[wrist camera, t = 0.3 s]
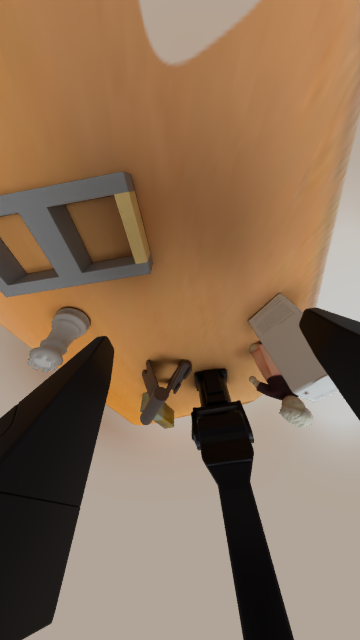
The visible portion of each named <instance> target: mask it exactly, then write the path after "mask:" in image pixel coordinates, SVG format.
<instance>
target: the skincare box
mask: <svg viewBox="0 0 360 640" xmlns="http://www.w3.org/2000/svg"><path fill="white" fill-rule="evenodd" d="M302 315H303V311H301V310H300V309H299V308H298V307H297V306H295V305H294V304H293V303H292V302H290V301H289V300H288V299H287V298H286V297H285V296H283V295H282V294H281V293H280V294H278V295H277V296H276V297H275V298H274V299H273V300H271V301H270V302H269V303H268V304H267V305H266V306H265V307H263V308H262V309H261V310H260V311H259V312H258V313H257V314H256V315H254V316H253V317H252V318H251V319H250V320H249V321H248V322H249V324H250V325H251V327H252V328H253V330H254V332H255V333H256V335H257V336H258V338H259V340H260V341H261V343H262V344H263V346H264V348H265V349H266V351H267V352H268V354H269V356H270V357H271V359H272V360H273V362H274V364H275V365H276V367H277V368H278V370H279V372H280V373H281V375H282V376H283V378H284V379H285V381H286V382H287V384H288V386H289V388H290V389H291V391H292V392H293V393H294V394H296V395H298V396H300V397H303V398H305V399H308V400H310V401H313V402H316V401H318V400H321V399H323V398H325V397H327V396H329V395H332V394H334V393H336V392H338V391H339V390H338V389H337V387H336V386H335V384H334V383H333V382H332V380H331V379H330V377H329V376H328V374H327V373H326V372H325V370H324V369H323V367H322V366H321V364H320V363H319V361H318V360H317V358H316V357H315V355H314V354H313V352H312V350H311V348H310V346H309V345H308V343H307V341H306V339H305V337H304V335H303V334H302V332H301V330H300V328H299V322H300V319H301V317H302Z"/></svg>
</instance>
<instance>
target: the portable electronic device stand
mask: <svg viewBox="0 0 360 640" xmlns="http://www.w3.org/2000/svg"><path fill="white" fill-rule="evenodd" d="M146 366H147V373H146V372H145V370H143V372H142V376H143V379H144V382H145V386H146V389H147V392H148V395H149V398H150V399H149V401H148V403H147V405H146V407H145V409H144V411H143V412H142V414H141V416H140V420H141V422H142V423H143V424H144V425H148V424H150V423H151V422H152V420H153V419H154V418H155V416H156V414H157V413H158V411H159V410H160V408H161V406H162V405H163V403H164V402H165V401H166V400H167V398H168V396H169V393H170V391H171V389H172V390H173V393H174V394H175V393H176V392H177V391H178V389H179V388H180V385H181V382H182V380H183V379H186V378H187V376H188V375H189V373H190V372H191V371H192V364H191V362H190V361H188V360H183V361H182V363H181V364H180V365H179V368H178V370H177V371H176V373H175V374H174V376H173V378H172V379H171V381H170V382H169V383H168V386H167V388H166V389H165V388H163V387H159V385H158V382H157V379H156V377H155V374H154V371H153V369H152V366H151V363H150V360H147V362H146Z"/></svg>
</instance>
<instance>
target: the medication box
mask: <svg viewBox="0 0 360 640" xmlns="http://www.w3.org/2000/svg"><path fill="white" fill-rule="evenodd" d="M149 399H150V398H149V395H148V392H146V393H144V394H143V397H142V403H141V409H140V411H141V412H143V411H144V409H145V407H146V405H147V403H148V401H149ZM153 420H154V421H155V422H156V423H158V424H159V425H161V426H162V427H164V428H171V427H174V411H173V410H172V409H171V408H170V407H169V406H168V405H167V404H166V403H165V402H164V403H163V405H162V406H161V408H160V410H159V411H158V413H157V414H156V416H155V418H154V419H153Z"/></svg>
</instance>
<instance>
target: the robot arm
mask: <svg viewBox="0 0 360 640" xmlns="http://www.w3.org/2000/svg"><path fill="white" fill-rule="evenodd" d="M299 328H300V330H301V332H302V334H303V335H304V337H305V339H306V341H307V343H308V345H309V346H310V348H311V350H312V352H313V354H314V355H315V357H316V358H317V360H318V361H319V363H320V364H321V366H322V367H323V369H324V370H325V372H326V373H327V374H328V376H329V377H330V379H331V380H332V382H333V383H334V384H335V386H336V387H337V389H338V390H339V392H340V393H341V394H342V396H343V397H344V399H345V400H346V402H347V403H348V404H349V406H350V407H351V409H352V410H353V412H354V413H355V414H356V416H357V417H358V419H359V420H360V322H358V321H355V320H352V319H349V318H346V317H343V316H340V315H337V314H334V313H331V312H328V311H325V310H322V309H319V308H309V309H306V310H305V311H304V312H303V315H302V317H301V319H300V322H299ZM113 358H114V348H113V346H112V344H111V342H110V340H109V339H108V337H107V336H100V337H97V338H95V339H94V340H93V341H92V342H91V343H89V344H88V345H87V346H86V347H85V348H83V349H82V350H81V351H80V352H79V353H77V354H76V355H75V356H74V357H73V358H72V359H70V360H69V361H68V362H67V363H66V364H64V365H63V366H62V367H61V368H60V369H58V370H57V371H56V372H55V373H54V374H53V375H51V376H50V377H49V378H48V379H46V380H45V381H44V382H43V383H42V384H41V385H39V386H38V387H37V388H36V389H35V390H33V391H32V392H31V393H30V394H29V395H28V396H26V397H25V398H24V399H23V400H22V401H20V402H19V404H17V405H16V406H14V407H13V408H12V409H11V410H10V411H8V412H7V413H6V414H5V415H4V416H2V417H1V418H0V640H22V639H24V638H26V637H28V636H29V635H31V634H33V633H35V632H37V631H39V630H40V629H42V628H44V627H46V626H48V625H49V624H51V623H52V620H53V617H54V613H55V610H56V606H57V602H58V597H59V593H60V589H61V585H62V581H63V577H64V573H65V568H66V564H67V560H68V556H69V552H70V548H71V544H72V540H73V536H74V531H75V527H76V523H77V519H78V515H79V511H80V506H81V502H82V498H83V494H84V489H85V485H86V481H87V477H88V473H89V469H90V465H91V461H92V456H93V452H94V448H95V444H96V440H97V436H98V432H99V427H100V423H101V419H102V415H103V411H104V407H105V403H106V399H107V395H108V390H109V386H110V381H111V374H112V366H113ZM194 376H195V382H196V388H197V391H199V396H200V403H201V407H198V408H196V407H195V408H193V412H191V416H192V439H193V440H194V441H195V443H196V445H197V449H198V450H201V455H202V459H203V461H204V463H205V465H206V467H207V468H208V470H209V472H210V473H211V475H212V477H213V478H214V480H215V482H216V483H217V485H218V488H219V494H220V499H221V506H222V512H223V518H224V524H225V530H226V536H227V542H228V548H229V554H230V561H231V567H232V573H233V579H234V585H235V591H236V597H237V603H238V609H239V614H240V621H241V627H242V633H243V639H244V640H294V638H293V635H292V631H291V628H290V624H289V620H288V617H287V614H286V610H285V606H284V602H283V599H282V596H281V592H280V588H279V585H278V581H277V577H276V574H275V570H274V566H273V563H272V559H271V556H270V552H269V549H268V545H267V542H266V538H265V534H264V531H263V527H262V523H261V520H260V517H259V513H258V509H257V505H256V502H255V498H254V495H253V491H252V487H251V484H250V476H251V470H252V463H253V456H254V451H253V447H252V444H251V443H254V438H253V434H252V430H251V427H250V424H249V421H248V419H247V416H246V414H245V411H244V409H243V406H242V404H241V401H240V400H238V401H236V402H231V399H230V395H229V392H228V389H227V385H226V381H227V370H226V369H220V370H212V371H205V372H197V373H195V374H194Z"/></svg>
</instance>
